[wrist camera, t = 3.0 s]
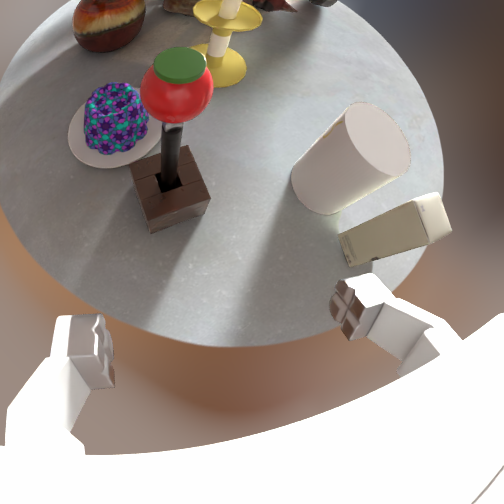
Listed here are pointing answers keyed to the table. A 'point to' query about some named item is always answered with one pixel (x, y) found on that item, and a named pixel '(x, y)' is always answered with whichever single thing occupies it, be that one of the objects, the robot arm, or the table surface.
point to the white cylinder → (351, 159)
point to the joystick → (175, 100)
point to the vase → (107, 23)
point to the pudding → (113, 127)
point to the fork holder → (174, 201)
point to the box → (396, 230)
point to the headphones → (323, 2)
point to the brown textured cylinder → (180, 6)
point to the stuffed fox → (273, 5)
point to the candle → (225, 37)
